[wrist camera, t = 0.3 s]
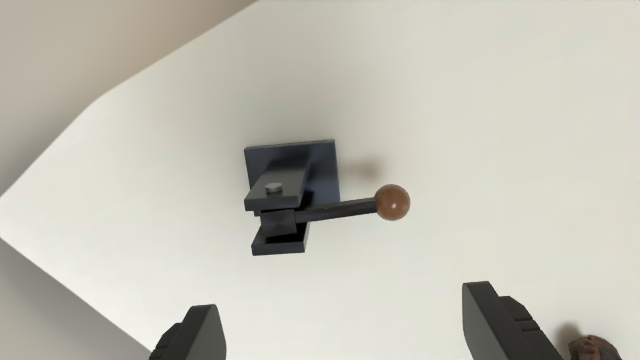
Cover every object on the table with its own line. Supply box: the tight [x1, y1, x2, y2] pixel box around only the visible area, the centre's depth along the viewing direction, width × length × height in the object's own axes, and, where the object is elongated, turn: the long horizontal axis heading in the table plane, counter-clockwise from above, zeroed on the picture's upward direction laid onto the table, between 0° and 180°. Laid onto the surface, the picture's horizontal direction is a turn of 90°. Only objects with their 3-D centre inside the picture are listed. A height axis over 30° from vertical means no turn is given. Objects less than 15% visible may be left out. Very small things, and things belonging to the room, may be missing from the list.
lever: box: [260, 184, 410, 238], centre depth 34 cm, size 13×3×3 cm, turn 96°
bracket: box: [244, 140, 340, 256], centre depth 39 cm, size 10×8×14 cm
